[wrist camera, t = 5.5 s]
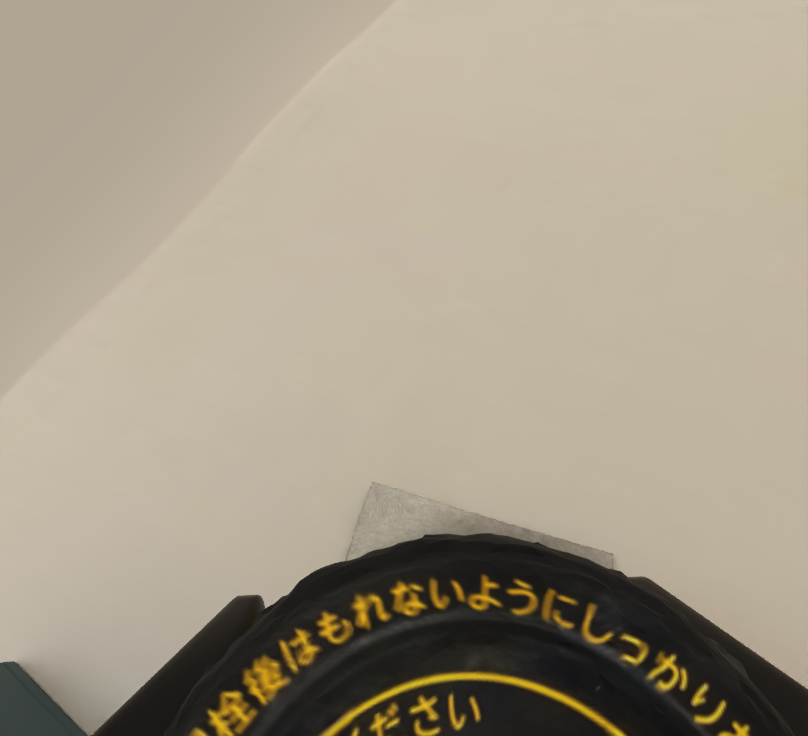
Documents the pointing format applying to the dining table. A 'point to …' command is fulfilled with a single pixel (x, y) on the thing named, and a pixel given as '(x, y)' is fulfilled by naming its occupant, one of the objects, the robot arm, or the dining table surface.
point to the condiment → (471, 644)
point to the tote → (29, 707)
